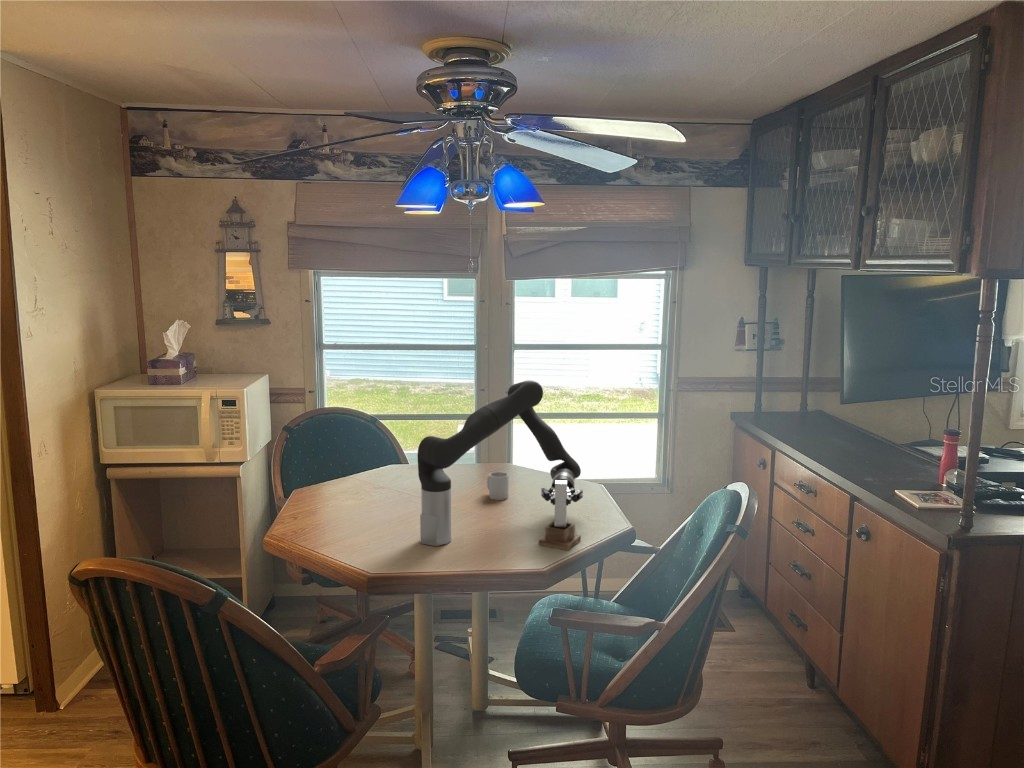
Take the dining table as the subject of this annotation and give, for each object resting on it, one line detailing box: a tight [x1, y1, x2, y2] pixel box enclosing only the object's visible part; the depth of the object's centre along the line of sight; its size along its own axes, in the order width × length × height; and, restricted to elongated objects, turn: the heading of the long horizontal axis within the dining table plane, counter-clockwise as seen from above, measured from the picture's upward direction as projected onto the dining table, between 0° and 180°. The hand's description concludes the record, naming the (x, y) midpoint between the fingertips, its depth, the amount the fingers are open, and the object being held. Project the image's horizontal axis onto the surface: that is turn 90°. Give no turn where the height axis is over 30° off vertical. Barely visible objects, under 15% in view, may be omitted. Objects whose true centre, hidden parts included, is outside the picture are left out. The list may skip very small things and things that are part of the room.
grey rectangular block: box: [553, 480, 568, 527], centre depth 234 cm, size 4×4×14 cm
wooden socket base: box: [538, 520, 582, 551], centre depth 236 cm, size 10×10×6 cm
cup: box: [486, 471, 510, 501], centre depth 282 cm, size 7×10×9 cm
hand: (560, 502), depth 231 cm, fingers closed on grey rectangular block, 3 cm apart
